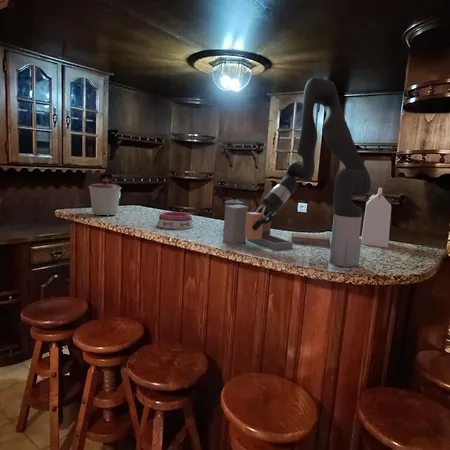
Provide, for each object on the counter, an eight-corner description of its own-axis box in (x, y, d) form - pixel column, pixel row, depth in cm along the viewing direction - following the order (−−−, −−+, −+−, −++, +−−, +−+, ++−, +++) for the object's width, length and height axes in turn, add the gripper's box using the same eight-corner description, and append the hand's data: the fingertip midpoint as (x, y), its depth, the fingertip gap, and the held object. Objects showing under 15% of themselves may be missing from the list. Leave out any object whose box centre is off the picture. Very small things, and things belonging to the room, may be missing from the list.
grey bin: (292, 249, 151) (292, 242, 151) (273, 250, 147) (274, 243, 146) (264, 239, 169) (264, 233, 168) (246, 240, 164) (247, 234, 164)
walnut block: (269, 242, 161) (271, 219, 160) (259, 242, 159) (261, 219, 157) (262, 239, 166) (264, 217, 164) (253, 240, 163) (255, 217, 162)
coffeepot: (241, 235, 177) (244, 197, 174) (221, 234, 177) (223, 196, 174) (242, 229, 192) (244, 195, 189) (224, 228, 192) (226, 193, 190)
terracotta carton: (261, 238, 149) (263, 214, 147) (251, 239, 146) (252, 214, 145) (254, 236, 153) (256, 212, 152) (244, 236, 151) (246, 212, 149)
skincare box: (235, 239, 165) (237, 204, 162) (247, 242, 160) (249, 206, 157) (221, 241, 159) (223, 204, 156) (233, 244, 154) (235, 206, 151)
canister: (102, 218, 204) (102, 179, 201) (81, 214, 214) (81, 177, 210) (127, 215, 219) (128, 179, 216) (107, 212, 229) (107, 177, 225)
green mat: (267, 249, 148) (267, 248, 148) (250, 251, 144) (250, 249, 144) (254, 244, 156) (254, 243, 156) (237, 245, 153) (237, 244, 153)
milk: (388, 247, 167) (395, 189, 163) (360, 244, 171) (367, 187, 167) (386, 242, 178) (393, 188, 174) (361, 240, 182) (367, 186, 178)
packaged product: (330, 235, 165) (330, 238, 156) (329, 245, 166) (329, 250, 156) (289, 231, 169) (287, 234, 160) (288, 241, 170) (286, 245, 161)
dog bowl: (196, 230, 185) (196, 216, 184) (158, 229, 180) (158, 215, 179) (190, 224, 203) (190, 211, 202) (155, 223, 198) (155, 210, 197)
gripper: (261, 189, 156) (235, 218, 153) (282, 193, 144) (254, 224, 140) (271, 202, 160) (245, 231, 156) (292, 206, 148) (265, 237, 144)
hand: (249, 227), depth 148 cm, fingers closed on terracotta carton, 5 cm apart
